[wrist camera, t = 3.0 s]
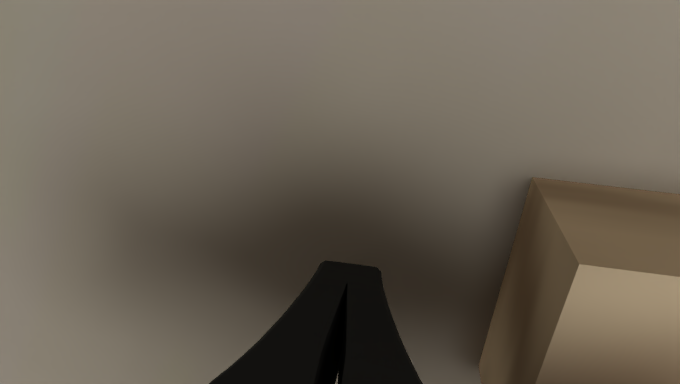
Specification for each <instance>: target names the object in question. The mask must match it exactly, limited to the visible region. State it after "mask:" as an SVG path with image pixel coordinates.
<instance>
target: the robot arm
mask: <svg viewBox="0 0 680 384" xmlns="http://www.w3.org/2000/svg"><path fill="white" fill-rule="evenodd" d="M337 374H338V384H422V382H421V380H420V378H419V376H418V374H417V372H416V370H415V368H414V366H413V364H412V362H411V360H410V358H409V356H408V354H407V352H406V350H405V348H404V345H403V343H402V341H401V338H400V336H399V333H398V331H397V328H396V326H395V323H394V320H393V318H392V315H391V312H390V309H389V306H388V303H387V299H386V296H385V292H384V288H383V284H382V277H381V271H380V270H379V269H378V268H377V267H371V266H363V265H356V264H348V263H341V262H333V261H324V262H323V263H321V264H320V266H319V268H318V269H317V271H316V273H315V274H314V276H313V277H312V279H311V280H310V282H309V283H308V284H307V286H306V287H305V288H304V290H303V291H302V292H301V294H300V295H299V296H298V297H297V299H296V300H295V301H294V302H293V304H292V305H291V306H290V307H289V308H288V310H287V311H286V312H285V313H284V314H283V315H282V317H281V318H280V319H279V320H278V321H277V322H276V323H275V324H274V325H273V326H272V327H271V328H270V329H269V330H268V331H267V333H266V334H265V335H264V336H263V337H262V338H261V339H260V340H259V341H258V342H257V343H256V344H255V345H254V346H253V347H251V348H250V349H249V350H248V351H247V352H246V353H245V354H244V355H243V356H242V357H241V358H239V359H238V360H237V361H236V362H235V363H234V364H233V365H231V366H230V367H229V368H228V369H227V370H225V371H224V372H223V373H221V374H220V375H219V376H218V377H216V378H215V379H214V380H213V381H211V382H210V383H209V384H335V382H336V378H337Z"/></svg>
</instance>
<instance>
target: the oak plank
mask: <svg viewBox="0 0 680 384" xmlns="http://www.w3.org/2000/svg"><path fill="white" fill-rule="evenodd" d="M479 371H480V377H481V383H482V384H680V194H672V193H663V192H654V191H646V190H637V189H629V188H620V187H612V186H603V185H594V184H586V183H577V182H569V181H560V180H552V179H543V178H534V177H532V180H531V184H530V187H529V191H528V194H527V198H526V201H525V205H524V208H523V212H522V215H521V219H520V222H519V226H518V229H517V233H516V236H515V240H514V243H513V247H512V250H511V254H510V257H509V261H508V264H507V268H506V271H505V275H504V278H503V282H502V285H501V289H500V292H499V296H498V299H497V303H496V306H495V310H494V313H493V317H492V320H491V324H490V327H489V331H488V334H487V338H486V341H485V345H484V348H483V352H482V355H481V359H480V362H479Z"/></svg>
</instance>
